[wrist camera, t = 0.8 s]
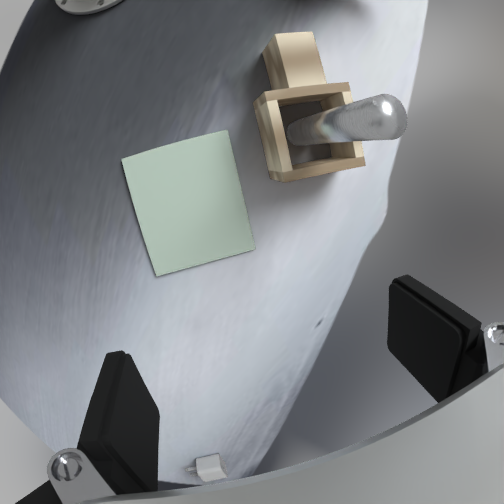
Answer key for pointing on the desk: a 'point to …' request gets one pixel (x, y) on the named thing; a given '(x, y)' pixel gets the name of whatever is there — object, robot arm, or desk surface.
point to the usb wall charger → (210, 468)
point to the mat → (189, 202)
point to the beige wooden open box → (295, 92)
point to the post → (352, 122)
